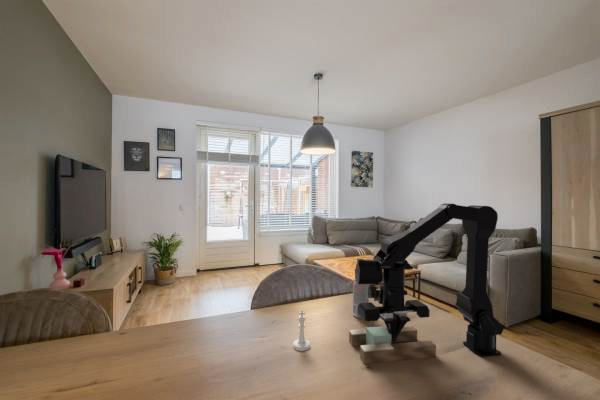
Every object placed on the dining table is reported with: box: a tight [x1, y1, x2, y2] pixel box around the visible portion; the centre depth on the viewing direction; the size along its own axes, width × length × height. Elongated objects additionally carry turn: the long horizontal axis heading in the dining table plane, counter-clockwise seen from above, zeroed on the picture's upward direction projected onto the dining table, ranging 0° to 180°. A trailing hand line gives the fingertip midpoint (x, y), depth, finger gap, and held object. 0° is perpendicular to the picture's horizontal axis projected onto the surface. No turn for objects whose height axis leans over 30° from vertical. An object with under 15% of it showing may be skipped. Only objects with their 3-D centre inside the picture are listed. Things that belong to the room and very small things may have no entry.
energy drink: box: [352, 279, 370, 320], centre depth 94 cm, size 5×5×12 cm
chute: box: [348, 326, 437, 365], centre depth 73 cm, size 20×11×3 cm, turn 100°
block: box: [365, 326, 392, 345], centre depth 73 cm, size 5×5×5 cm
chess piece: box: [292, 309, 311, 352], centre depth 74 cm, size 5×5×10 cm
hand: (392, 340), depth 73 cm, fingers closed
